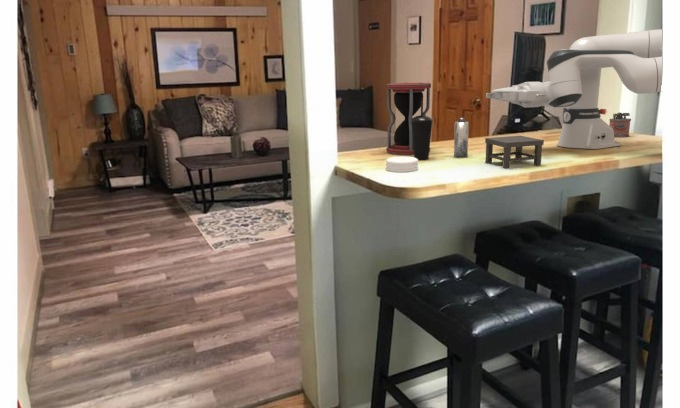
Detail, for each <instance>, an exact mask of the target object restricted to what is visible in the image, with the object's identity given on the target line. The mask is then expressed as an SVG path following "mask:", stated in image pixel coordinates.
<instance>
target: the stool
mask: <svg viewBox="0 0 680 408" xmlns="http://www.w3.org/2000/svg"><path fill="white" fill-rule="evenodd" d="M484 139H485V140H484V141H485V142H484V143H485V163H486V164H492V163H493V159H494V160H499V161H502V169H505V170H507V169H511V162H519V161H520V162H521V161H530V160H531V161H532V160H533V166H535V167H541V166H542V153H543V146H544V141H545V140H544V139H539V138H534V137H530V136H529V137H528V136H526V135H524V136H523V135H510V136H508V135H507V136H497V137H494V136H493V137H484ZM493 146H497V147H502V148H503V152H496V153H493V151H494V150H493V149H494V147H493ZM523 147H534V152H533V153H534V154H531V153H527V152H523ZM512 148H515V151H512ZM513 155H514V157H512V156H513ZM511 157H512V158H511Z"/></svg>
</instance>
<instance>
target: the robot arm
mask: <svg viewBox="0 0 680 408" xmlns="http://www.w3.org/2000/svg"><path fill="white" fill-rule="evenodd" d="M546 65H547V72H548V78H549V80H548V81H544V82H541V81H525V82H522V83H519V84H514V85H511V86H509V87H502V88H496V89H493V90H491V92H486V93H485V94H486V95H485V98H486V99H491V100H492V101H496V102H497V101H498V102H507V103H510V104H513V105H518V106H520V107H523V108H525V109H526V108H527V109H528V108H539V107H547V108H548V107H552V108H562V110H563V111H562V126H561V130H560V131H561V132H560V134H559V138H558V142H557V143H556V146H558V147H562V148H568V149H586V150H587V149H588V150H590V149H591V150H599V149H606V148H612V147H619V146H622V143H621V142H620V141H615V138H614V130H613V128H612V127H610V126H609V124H608V123H607V122H606V121H605V120H603V118H601V117H602V116H601V115H606V114H607V112H608V110H607V109H606V108H600V109H599V105H598V104H599V93H600V84H601V73H602V69H604V68H613V70H615V72H616V74H617V75H618V77H619V79H620V81H621V82H622V84H623V85H624V86H625V88H626V89H627V90H628V91H630V92H632V93H634V94H641V95H642V94H644V95H645V94H652V93H660V92H662V91H661V85H662V29H649V30H640V31H631V32H625V33H623V32H622V33H614V34H603V35H595V36H594V35H593V36H586V37H585V36H583V37H581V38H579V39H577V40H575V41H574V42H573V43H572V44H571V45H570V47H569V49H568V48H567V49H566V48H564V49H563V48H562V49H558V50H556V51H553V52H552V53H551V54H550V56H549V57H548V59H547V61H546Z"/></svg>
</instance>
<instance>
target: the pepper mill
mask: <svg viewBox="0 0 680 408" xmlns="http://www.w3.org/2000/svg"><path fill="white" fill-rule="evenodd" d="M469 127H470V126H469V121H466V118H465V117H459V118H458V120H457V121H455V122H454V137H453V138H454V140H453V141H454V142H453V143H454V145H453V149H454V150H453V157H454V158H456V159H463V158H468V153H469V151H468V149H469Z"/></svg>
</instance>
